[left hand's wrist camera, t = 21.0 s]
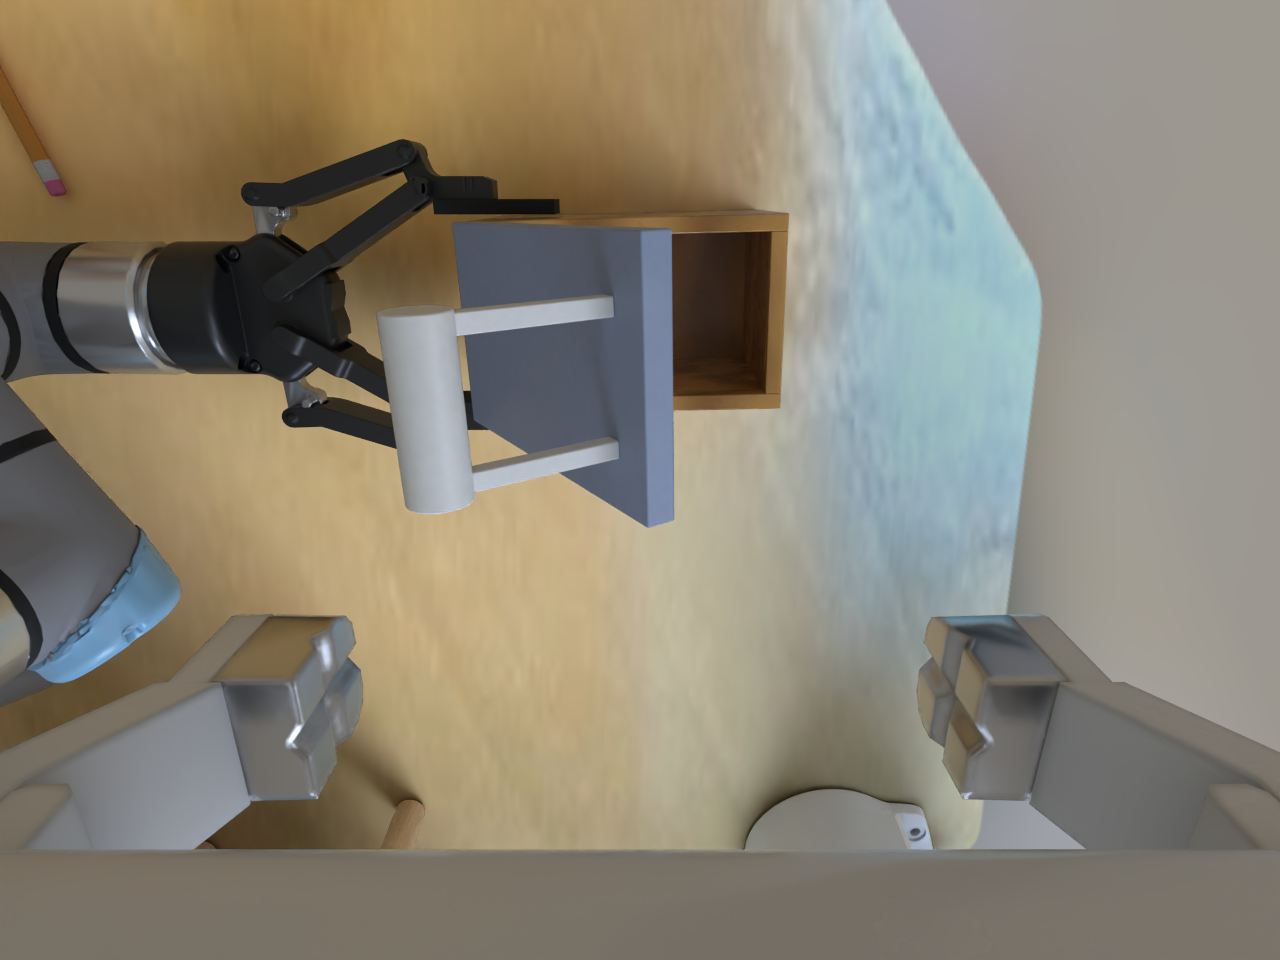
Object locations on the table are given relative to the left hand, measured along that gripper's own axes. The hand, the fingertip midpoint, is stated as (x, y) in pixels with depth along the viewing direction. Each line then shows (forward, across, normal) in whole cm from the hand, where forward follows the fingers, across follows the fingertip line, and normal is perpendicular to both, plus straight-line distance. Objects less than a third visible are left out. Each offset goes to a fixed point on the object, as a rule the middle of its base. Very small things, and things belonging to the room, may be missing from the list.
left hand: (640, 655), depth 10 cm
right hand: (+35, +5, 0) cm, 35 cm away
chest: (+41, 0, 0) cm, 41 cm away
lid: (+23, +4, 0) cm, 23 cm away
